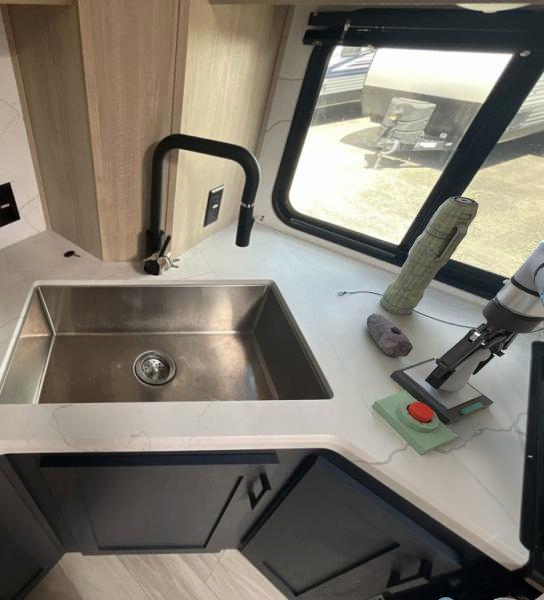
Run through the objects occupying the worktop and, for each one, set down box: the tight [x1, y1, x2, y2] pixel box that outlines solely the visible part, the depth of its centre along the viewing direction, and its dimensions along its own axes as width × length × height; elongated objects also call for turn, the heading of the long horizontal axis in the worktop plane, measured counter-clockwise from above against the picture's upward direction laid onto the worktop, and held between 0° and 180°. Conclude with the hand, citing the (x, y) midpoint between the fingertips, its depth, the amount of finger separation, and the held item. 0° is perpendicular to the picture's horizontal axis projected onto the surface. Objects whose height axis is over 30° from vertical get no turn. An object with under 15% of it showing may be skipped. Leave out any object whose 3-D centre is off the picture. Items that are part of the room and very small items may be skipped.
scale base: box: [389, 357, 495, 426], centre depth 77 cm, size 14×14×3 cm
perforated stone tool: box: [366, 312, 414, 358], centre depth 88 cm, size 15×5×7 cm, turn 179°
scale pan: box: [402, 360, 483, 410], centre depth 77 cm, size 11×11×1 cm
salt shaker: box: [440, 343, 491, 392], centre depth 72 cm, size 6×6×13 cm
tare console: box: [371, 389, 458, 456], centre depth 70 cm, size 12×9×4 cm
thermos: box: [379, 195, 480, 316], centre depth 91 cm, size 9×12×35 cm
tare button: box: [408, 402, 434, 423], centre depth 69 cm, size 4×4×2 cm
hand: (450, 377), depth 74 cm, fingers open, 12 cm apart
